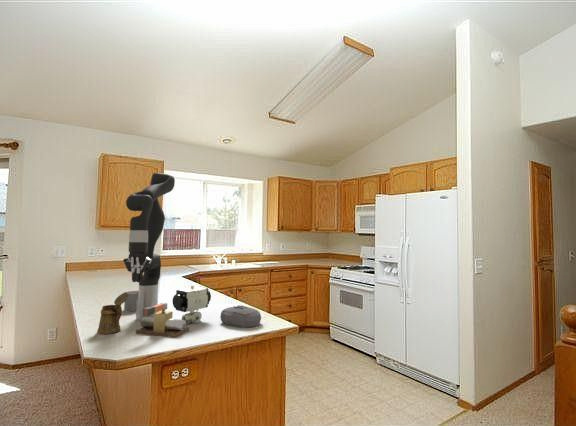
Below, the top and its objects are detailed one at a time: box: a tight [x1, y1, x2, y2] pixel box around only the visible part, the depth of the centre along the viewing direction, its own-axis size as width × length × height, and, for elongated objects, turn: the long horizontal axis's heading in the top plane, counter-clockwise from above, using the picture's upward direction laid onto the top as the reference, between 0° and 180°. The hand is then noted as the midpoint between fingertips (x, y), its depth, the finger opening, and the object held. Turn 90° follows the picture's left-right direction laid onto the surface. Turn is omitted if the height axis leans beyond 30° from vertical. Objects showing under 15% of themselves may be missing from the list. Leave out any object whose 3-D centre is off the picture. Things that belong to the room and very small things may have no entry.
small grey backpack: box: [219, 304, 262, 328], centre depth 161 cm, size 15×8×20 cm
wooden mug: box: [96, 291, 128, 336], centre depth 146 cm, size 9×14×18 cm, turn 69°
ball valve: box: [172, 285, 212, 324], centre depth 163 cm, size 18×8×18 cm, turn 142°
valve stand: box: [135, 310, 190, 338], centre depth 146 cm, size 20×10×10 cm, turn 75°
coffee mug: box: [123, 290, 139, 313], centre depth 190 cm, size 13×10×10 cm
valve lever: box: [143, 302, 168, 316], centre depth 142 cm, size 14×3×3 cm, turn 165°
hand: (137, 281), depth 140 cm, fingers closed
